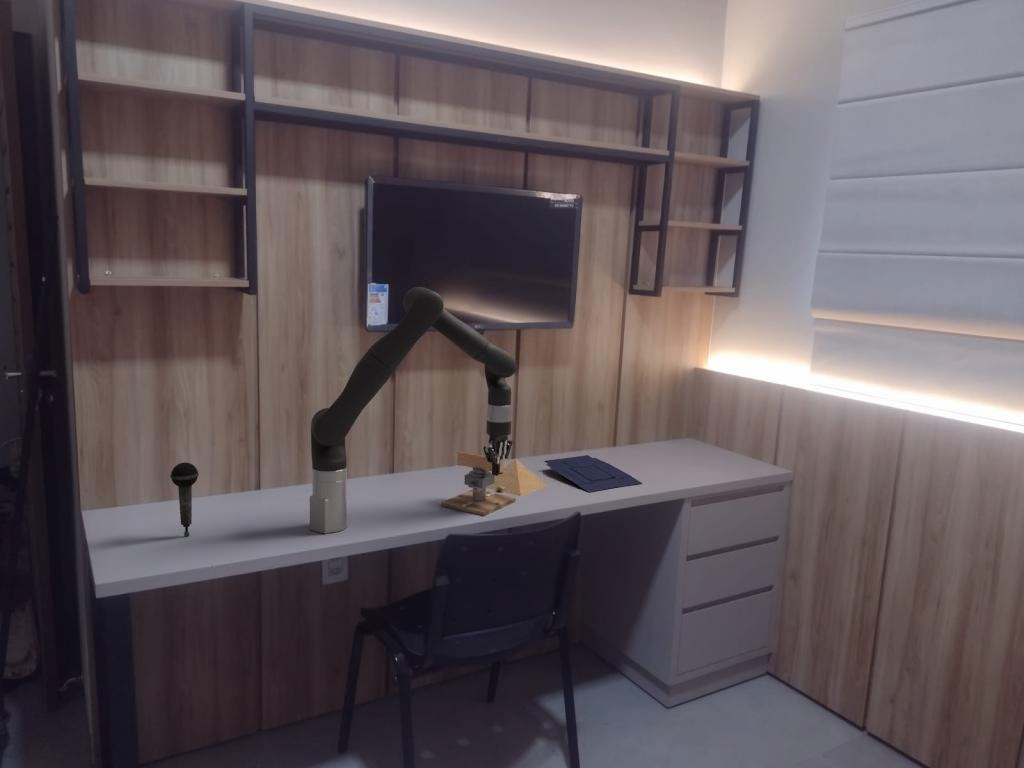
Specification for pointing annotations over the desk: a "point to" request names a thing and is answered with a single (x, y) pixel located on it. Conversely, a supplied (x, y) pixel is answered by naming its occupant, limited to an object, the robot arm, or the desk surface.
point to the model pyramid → (516, 480)
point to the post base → (478, 501)
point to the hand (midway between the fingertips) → (497, 474)
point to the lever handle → (477, 469)
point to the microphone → (185, 490)
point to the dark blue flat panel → (591, 473)
